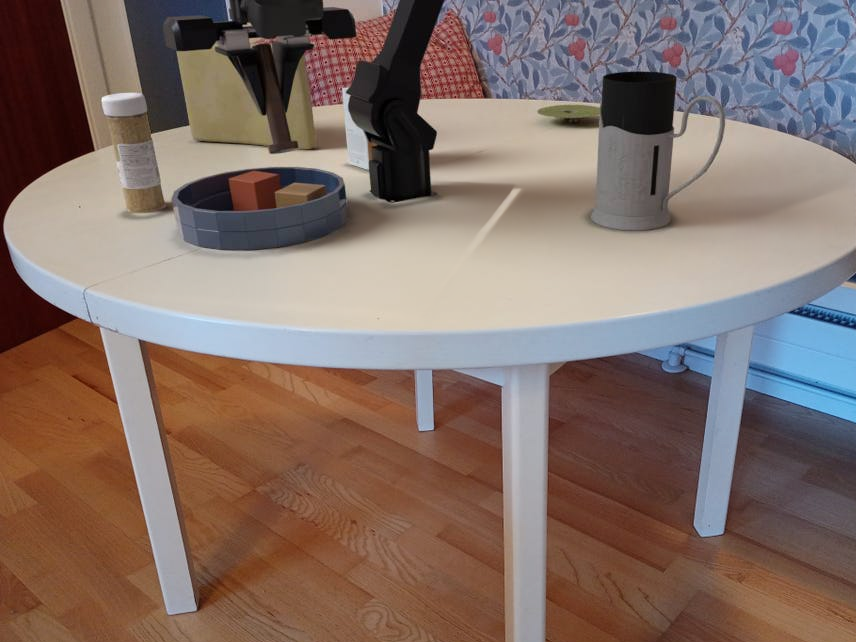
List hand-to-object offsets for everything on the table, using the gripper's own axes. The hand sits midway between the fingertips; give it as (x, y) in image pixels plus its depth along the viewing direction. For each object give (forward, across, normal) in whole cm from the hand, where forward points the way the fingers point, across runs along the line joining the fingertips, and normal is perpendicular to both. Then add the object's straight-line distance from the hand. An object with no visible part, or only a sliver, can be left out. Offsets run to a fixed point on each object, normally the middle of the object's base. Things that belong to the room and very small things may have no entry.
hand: (273, 113), depth 89 cm
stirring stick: (+4, 0, -2) cm, 4 cm away
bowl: (+12, -3, -2) cm, 12 cm away
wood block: (+11, 0, -5) cm, 12 cm away
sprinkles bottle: (+12, -13, +12) cm, 22 cm away
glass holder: (+12, +33, -24) cm, 43 cm away
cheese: (+12, +9, +41) cm, 44 cm away
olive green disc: (+12, +58, +25) cm, 64 cm away
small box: (+12, +20, +17) cm, 29 cm away
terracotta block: (+11, -2, +3) cm, 12 cm away
